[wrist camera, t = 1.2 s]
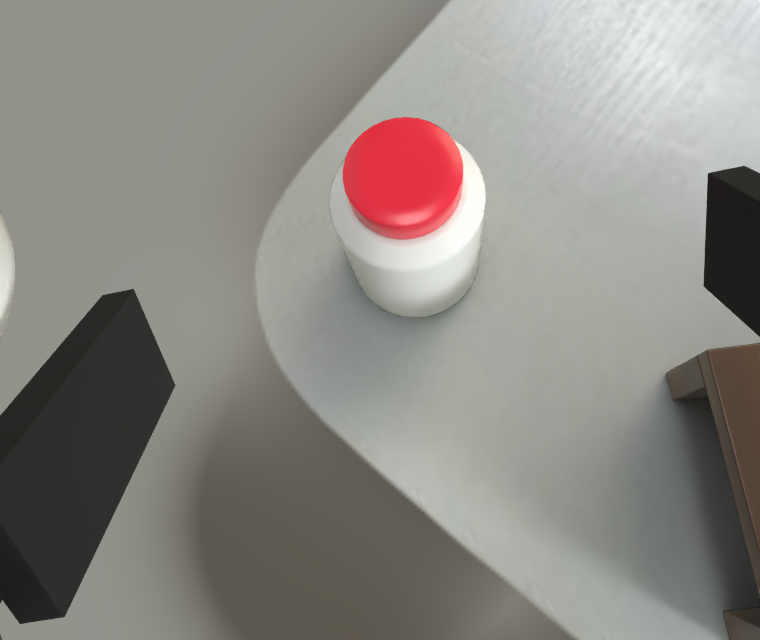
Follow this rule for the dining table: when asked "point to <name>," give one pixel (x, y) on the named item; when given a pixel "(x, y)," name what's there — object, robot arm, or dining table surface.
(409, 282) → the pill bottle
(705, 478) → the dining table surface
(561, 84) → the dining table surface
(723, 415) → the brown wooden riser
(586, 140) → the dining table surface
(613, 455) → the dining table surface
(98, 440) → the robot arm
